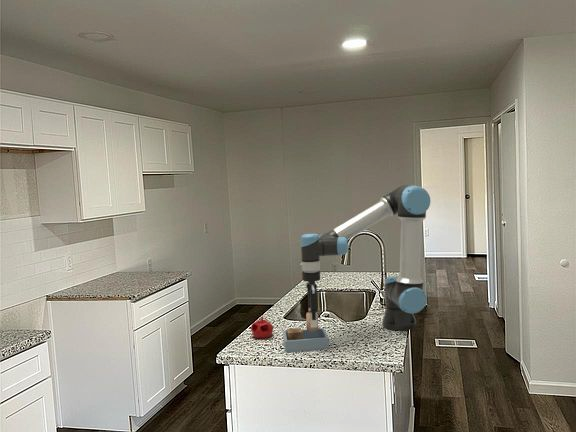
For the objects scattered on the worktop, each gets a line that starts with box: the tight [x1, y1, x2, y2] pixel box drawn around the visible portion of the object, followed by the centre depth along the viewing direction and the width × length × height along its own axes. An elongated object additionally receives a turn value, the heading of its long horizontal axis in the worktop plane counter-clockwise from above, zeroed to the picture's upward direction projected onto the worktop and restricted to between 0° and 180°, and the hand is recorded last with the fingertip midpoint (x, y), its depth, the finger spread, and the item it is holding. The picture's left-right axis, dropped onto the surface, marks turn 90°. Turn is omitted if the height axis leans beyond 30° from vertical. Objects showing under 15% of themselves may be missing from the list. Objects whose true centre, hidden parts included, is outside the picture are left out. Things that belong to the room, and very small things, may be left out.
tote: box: [282, 327, 330, 353], centre depth 218 cm, size 18×14×5 cm
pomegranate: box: [250, 316, 274, 339], centre depth 233 cm, size 10×10×9 cm
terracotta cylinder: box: [305, 311, 319, 331], centre depth 217 cm, size 5×5×7 cm
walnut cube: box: [286, 327, 303, 340], centre depth 218 cm, size 6×6×6 cm
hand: (313, 325), depth 218 cm, fingers closed on terracotta cylinder, 5 cm apart
